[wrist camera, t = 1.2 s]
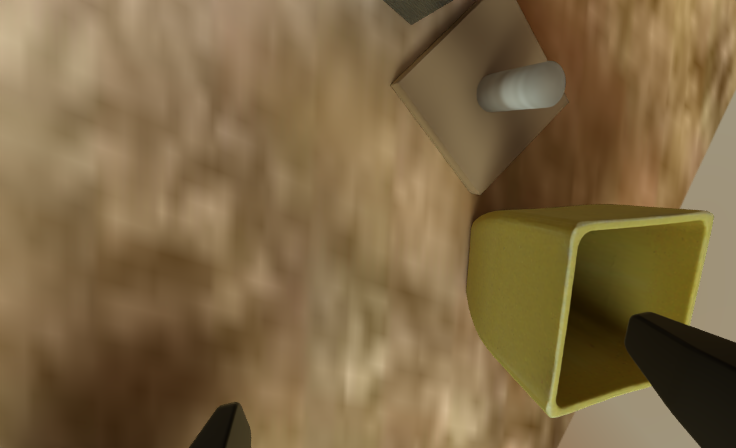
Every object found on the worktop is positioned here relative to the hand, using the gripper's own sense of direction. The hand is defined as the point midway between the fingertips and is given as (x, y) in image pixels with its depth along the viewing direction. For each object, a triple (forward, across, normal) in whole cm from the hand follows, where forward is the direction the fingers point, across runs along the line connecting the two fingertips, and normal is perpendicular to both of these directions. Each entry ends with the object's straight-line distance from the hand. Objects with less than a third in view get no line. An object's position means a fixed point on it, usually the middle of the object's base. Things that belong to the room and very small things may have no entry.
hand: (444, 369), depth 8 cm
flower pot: (+14, -8, +7) cm, 18 cm away
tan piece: (+16, -8, -3) cm, 18 cm away
